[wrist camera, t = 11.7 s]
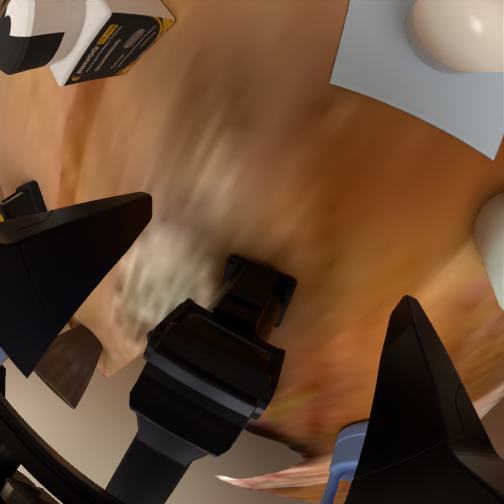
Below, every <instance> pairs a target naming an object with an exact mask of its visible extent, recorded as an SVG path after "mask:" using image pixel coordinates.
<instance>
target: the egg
mask: <svg viewBox="0 0 504 504" xmlns="http://www.w3.org/2000/svg"><path fill="white" fill-rule="evenodd" d="M405 33H406V37H407V40H408V42H409V44H410V46H411V48H412V50H413V51H414V53H415V54H416V55H417V56H418V57H419V58H420V59H421V60H422V61H423V62H424V63H425V64H427V65H428V66H429V67H431V68H433V69H435V70H437V71H439V72H442V73H446V74H464V73H483V72H504V0H416V1H415V2H414V4H413V6H412V8H411V9H410V11H409V13H408V15H407V17H406V20H405Z"/></svg>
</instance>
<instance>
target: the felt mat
mask: <svg viewBox="0 0 504 504" xmlns="http://www.w3.org/2000/svg"><path fill="white" fill-rule="evenodd" d="M415 1H416V0H350V4H349V8H348V12H347V17H346V21H345V25H344V29H343V33H342V37H341V41H340V45H339V49H338V53H337V56H336V60H335V64H334V68H333V72H332V76H331V79H330V83H331V84H334V85H337V86H340V87H343V88H346V89H349V90H352V91H355V92H358V93H361V94H364V95H366V96H369V97H372V98H374V99H377V100H379V101H382V102H384V103H387V104H389V105H391V106H394V107H396V108H398V109H401V110H403V111H405V112H407V113H410V114H412V115H414V116H416V117H418V118H420V119H422V120H424V121H426V122H428V123H430V124H432V125H434V126H436V127H438V128H440V129H442V130H444V131H446V132H447V133H449V134H451V135H453V136H455V137H456V138H458V139H460V140H462V141H463V142H465V143H467V144H468V145H470V146H472V147H473V148H475V149H476V150H478V151H480V152H481V153H483V154H484V155H486V156H487V157H489V158H490V159H492V160H493V161H494V158H495V156H496V153H497V151H498V148H499V145H500V143H501V140H502V137H503V134H504V72H483V73H464V74H446V73H442V72H439V71H437V70H435V69H433V68H431V67H429V66H428V65H427V64H425V63H424V62H423V61H422V60H421V59H420V58H419V57H418V56H417V55H416V54H415V53H414V51H413V50H412V48H411V46H410V44H409V42H408V40H407V37H406V33H405V20H406V17H407V15H408V13H409V11H410V9H411V8H412V6H413V4H414V2H415Z"/></svg>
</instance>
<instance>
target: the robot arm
mask: <svg viewBox="0 0 504 504" xmlns="http://www.w3.org/2000/svg"><path fill="white" fill-rule="evenodd" d="M151 218H152V196H151V195H150V194H147V193H145V192H136V193H130V194H125V195H119V196H114V197H109V198H104V199H99V200H94V201H89V202H85V203H80V204H76V205H71V206H67V207H63V208H59V209H55V210H50V211H46V212H42V213H38V214H34V215H29V216H25V217H20V218H16V219H11V220H7V221H2V222H0V504H60V503H58V502H57V501H56V500H55V499H54V498H53V497H51V496H50V495H49V494H48V493H47V492H46V491H45V490H44V489H43V488H39V487H36V486H35V484H34V483H33V482H32V481H31V480H30V479H28V478H27V477H26V476H25V475H24V474H22V473H21V472H19V471H18V470H17V468H18V467H19V466H20V464H21V465H22V466H23V467H24V468H25V469H26V470H27V471H28V472H29V473H30V474H31V475H32V476H33V477H34V478H35V479H36V480H37V481H38V482H39V483H40V484H42V485H43V486H44V487H45V488H46V489H47V490H48V491H49V492H50V493H52V494H53V495H54V496H55V497H56V498H57V499H58V500H60V501H61V502H62V503H63V504H165V502H166V501H167V499H168V498H169V496H170V495H171V493H172V492H173V490H174V489H175V487H176V486H177V484H178V483H179V481H180V480H181V478H182V477H183V475H184V474H185V472H186V470H187V469H188V467H189V466H190V464H191V463H192V461H195V460H197V459H200V458H202V457H204V456H206V455H211V456H213V457H218V456H219V455H221V454H223V453H225V452H226V451H228V450H229V449H230V448H231V446H232V445H233V443H234V442H235V440H236V439H237V438H238V436H239V435H240V433H241V431H242V430H243V428H244V427H245V425H246V424H247V422H248V421H249V419H250V420H252V421H256V420H257V419H258V418H259V417H260V416H261V415H262V413H263V412H264V411H265V409H266V407H267V406H268V404H269V402H270V401H271V399H272V397H273V395H274V392H275V390H276V387H277V384H278V380H279V376H280V373H281V369H282V365H283V361H284V357H285V353H286V351H285V350H283V349H281V348H279V349H278V348H276V347H275V346H273V345H271V344H269V343H267V342H268V339H269V337H270V335H271V333H272V330H273V328H274V327H279V326H280V323H281V321H282V319H283V316H284V314H285V312H286V309H287V307H288V305H289V302H290V300H291V298H292V295H293V293H294V290H295V288H296V286H297V282H296V280H294V279H293V278H290V277H288V276H285V275H283V274H280V273H278V272H275V271H273V270H270V269H268V268H265V267H263V266H260V265H258V264H256V263H253V262H251V261H248V260H246V259H243V258H241V257H238V256H236V255H233V254H232V255H230V256H229V257H228V258H227V261H226V267H225V273H224V278H223V284H222V288H221V290H220V291H219V292H218V294H217V295H216V297H215V298H214V300H213V301H212V302H211V304H210V305H209V307H208V308H207V309H205V308H203V307H201V306H199V305H198V304H196V303H194V301H193V300H191V299H190V298H188V299H187V300H186V301H184V302H183V303H181V304H180V305H179V306H177V307H176V308H175V309H174V310H173V311H172V312H171V313H170V314H169V315H168V316H167V317H166V318H164V319H163V320H162V321H161V322H160V323H159V324H158V325H157V326H156V327H155V328H154V329H152V330H150V331H149V332H148V334H147V341H148V344H147V346H146V349H145V352H144V356H143V358H144V360H145V361H147V363H146V364H145V366H144V368H143V370H142V372H141V374H140V376H139V378H138V380H137V382H136V384H135V385H134V387H133V388H132V390H131V392H130V400H129V401H130V402H129V406H130V409H131V410H133V411H134V412H136V415H137V423H138V432H137V434H136V436H135V438H134V439H133V441H132V443H131V445H130V446H129V448H128V450H127V452H126V453H125V455H124V457H123V459H122V460H121V462H120V464H119V466H118V467H117V469H116V471H115V473H114V474H113V476H112V478H111V480H110V482H109V483H108V485H107V487H106V489H105V490H104V489H103V488H101V487H100V486H98V485H97V484H96V483H94V482H93V481H92V480H90V479H89V478H88V477H86V476H85V475H84V474H82V473H81V472H80V471H78V470H77V469H76V468H75V467H74V466H72V465H71V464H70V463H69V462H67V461H66V460H65V459H64V458H63V457H62V456H60V455H59V454H58V453H57V452H56V451H55V450H54V449H53V448H52V447H51V446H49V445H48V444H47V443H46V442H45V441H44V440H43V439H42V438H41V437H40V436H39V435H38V434H37V433H36V432H35V431H34V430H33V429H32V428H31V427H30V426H29V425H28V424H27V423H26V421H25V420H24V419H23V418H22V417H21V416H20V415H19V414H18V413H17V411H16V410H15V409H14V408H13V407H12V406H11V405H10V404H9V402H8V401H7V400H6V398H5V377H6V368H5V367H4V366H3V365H2V364H3V363H4V362H5V361H6V360H7V358H8V357H9V359H10V360H11V361H12V362H13V363H14V364H15V366H16V367H17V368H18V369H19V370H20V371H21V372H22V374H23V375H24V376H25V377H26V378H28V377H29V376H30V374H31V373H32V371H33V370H34V369H35V367H36V366H37V364H38V363H39V361H40V360H41V358H42V357H43V355H44V354H45V353H46V351H47V350H48V348H49V347H50V346H51V344H52V343H53V341H54V340H55V339H56V337H57V336H58V334H59V333H60V332H61V330H62V329H63V328H64V326H65V325H66V324H67V323H68V321H69V320H70V319H71V317H72V316H73V315H74V314H75V312H76V311H77V310H78V308H79V307H80V306H81V305H82V303H83V302H84V301H85V300H86V299H87V297H88V296H89V295H90V294H91V292H92V291H93V290H94V289H95V288H96V286H97V285H98V284H99V283H100V282H101V280H102V279H103V278H104V277H105V276H106V275H107V273H108V272H109V271H110V270H111V269H112V268H113V267H114V265H115V264H116V263H117V262H118V261H119V260H120V259H121V258H122V256H123V255H124V254H125V253H126V252H127V251H128V249H129V248H130V247H131V246H132V244H133V243H134V242H135V240H136V239H137V238H138V236H139V235H140V234H141V232H142V231H143V230H144V228H145V227H146V226H147V225H148V223H149V222H150V220H151ZM231 259H232V260H234V261H232V260H231ZM289 283H291V284H292V285H290V284H289ZM344 504H504V459H502V458H501V457H500V456H499V455H498V454H497V453H496V451H495V449H494V448H493V446H492V443H491V441H490V439H489V437H488V435H487V433H486V431H485V429H484V427H483V425H482V422H481V420H480V418H479V416H478V414H477V412H476V410H475V408H474V406H473V404H472V402H471V400H470V398H469V396H468V394H467V392H466V389H465V387H464V385H463V383H461V379H460V377H459V375H458V373H457V371H456V369H455V367H454V365H453V363H452V361H451V359H450V357H449V355H448V353H447V351H446V349H445V347H444V345H443V344H442V342H441V340H440V338H439V336H438V334H437V333H436V331H435V329H434V327H433V326H432V324H431V322H430V320H429V319H428V317H427V315H426V314H425V312H424V310H423V309H422V307H421V305H420V304H419V302H418V300H417V299H416V298H413V297H411V296H409V295H405V296H404V297H403V298H402V299H401V300H400V302H399V303H398V305H397V306H396V307H395V309H394V310H393V312H392V313H391V316H390V319H389V324H388V328H387V333H386V337H385V341H384V345H383V349H382V354H381V358H380V364H379V370H378V376H377V382H376V388H375V393H374V399H373V404H372V409H371V413H370V418H369V422H368V427H367V431H366V435H365V439H364V443H363V447H362V450H361V454H360V457H359V461H358V464H357V468H356V471H355V474H354V477H353V480H352V483H351V486H350V489H349V492H348V495H347V498H346V500H345V503H344Z"/></svg>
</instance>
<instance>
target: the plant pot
mask: <svg viewBox="0 0 504 504" xmlns="http://www.w3.org/2000/svg"><path fill="white" fill-rule="evenodd" d="M101 351H102V345H101V344H100V342H99V341H98V339H97V338H96V337H95V336H94V335H93V334H92V333H91V332H90V331H89V330H88V329H87V328H85V327H84V326H81V325H80V326H78V327H75V328H73V329H71V330H68V331H66V332H64V333H62V334H60V335H58V336H57V337H56V339H55V340H54V341H53V343H52V344H51V346H50V347H49V348H48V350H47V351H46V353H45V354H44V355H43V357H42V358H41V360H40V361H39V363H38V364H37V366H36V367H35V369H34V370H33V371H34V372H35V373H36V374H37V375H38V376H39V377H40V378H41V380H42V381H43V382H45V384H46V385H47V386H48V387H49V388H50V389H51V390H52V391H53V392H54V393H55V394H56V395H57V396H58V397H60V398H61V399H62V400H63V401H64V402H65V403H66V404H67V405H69V406H70V407H71V408H73V409H75V408H76V406H77V405H78V403H79V401H80V399H81V397H82V396H83V393H84V392H85V390H86V388H87V386H88V384H89V382H90V379H91V377H92V375H93V373H94V370H95V368H96V365H97V363H98V360H99V357H100V354H101Z"/></svg>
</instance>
